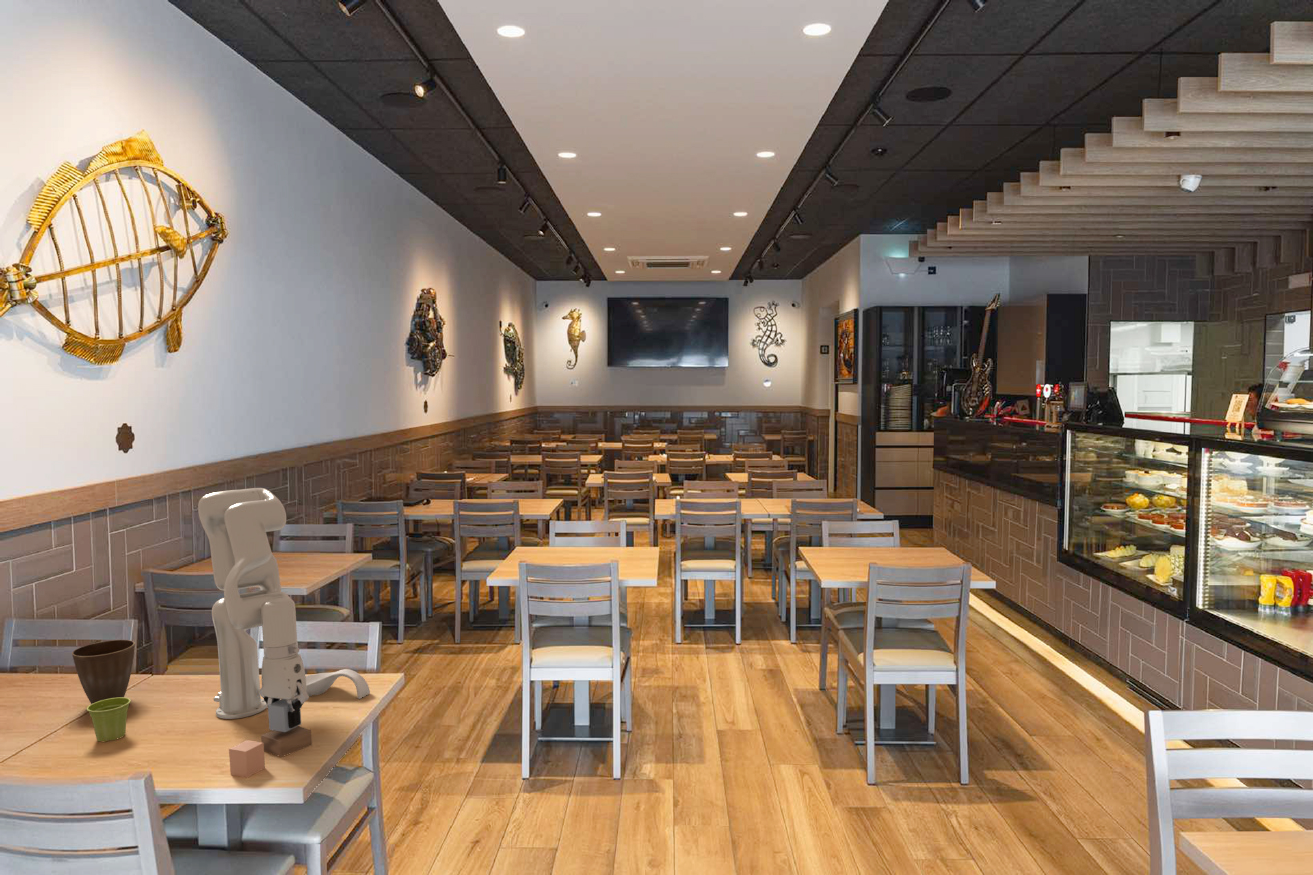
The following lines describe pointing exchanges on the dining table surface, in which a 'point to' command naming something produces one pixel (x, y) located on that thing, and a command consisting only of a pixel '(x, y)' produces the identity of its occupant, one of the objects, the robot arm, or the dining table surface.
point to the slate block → (279, 716)
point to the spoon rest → (325, 680)
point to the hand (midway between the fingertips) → (285, 723)
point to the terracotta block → (247, 758)
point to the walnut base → (286, 741)
